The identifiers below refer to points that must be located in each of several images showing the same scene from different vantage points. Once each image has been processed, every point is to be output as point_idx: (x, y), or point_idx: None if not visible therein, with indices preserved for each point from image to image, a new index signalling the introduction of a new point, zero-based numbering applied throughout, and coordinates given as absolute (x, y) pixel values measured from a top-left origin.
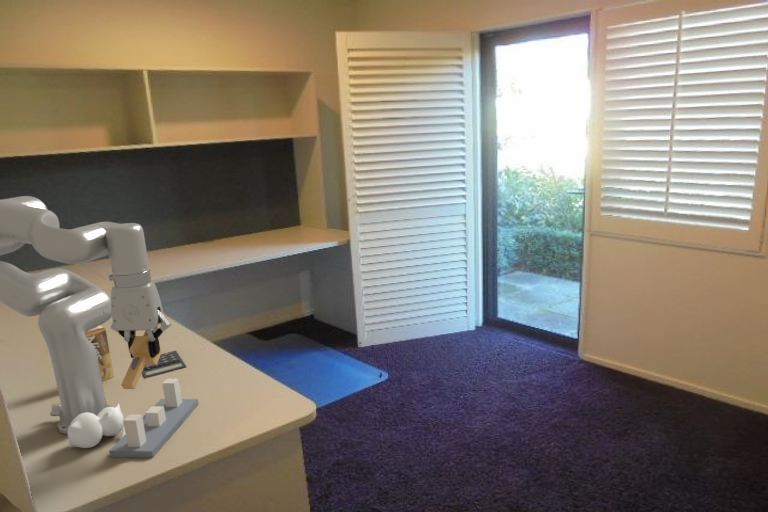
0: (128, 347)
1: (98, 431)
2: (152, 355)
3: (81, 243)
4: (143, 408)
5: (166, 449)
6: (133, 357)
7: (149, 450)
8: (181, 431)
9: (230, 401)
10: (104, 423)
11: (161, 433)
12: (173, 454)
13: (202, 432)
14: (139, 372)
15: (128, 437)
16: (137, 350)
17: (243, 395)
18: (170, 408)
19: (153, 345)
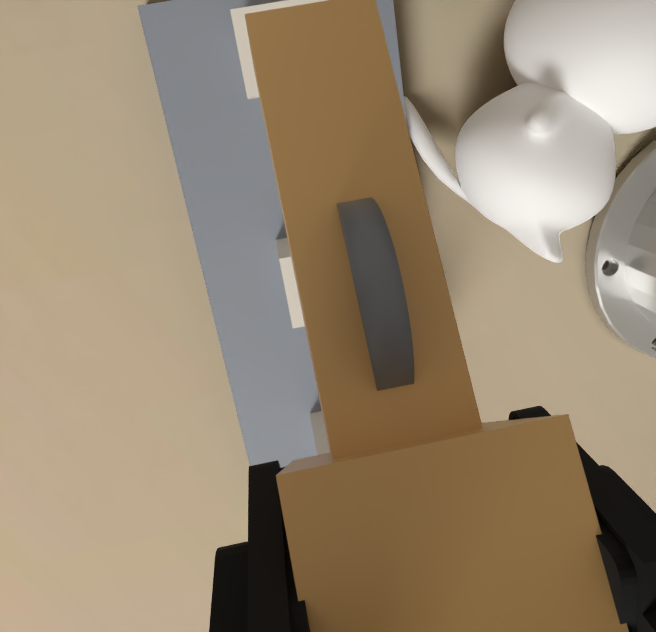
0: (651, 509)
1: (518, 26)
2: (250, 483)
3: None
4: (499, 392)
5: (129, 96)
6: (513, 417)
7: (159, 10)
8: (172, 259)
9: (120, 530)
10: (525, 92)
11: (215, 179)
12: (55, 60)
13: (56, 273)
14: (284, 220)
15: None
16: (420, 443)
17: (95, 584)
18: None
19: (247, 623)
